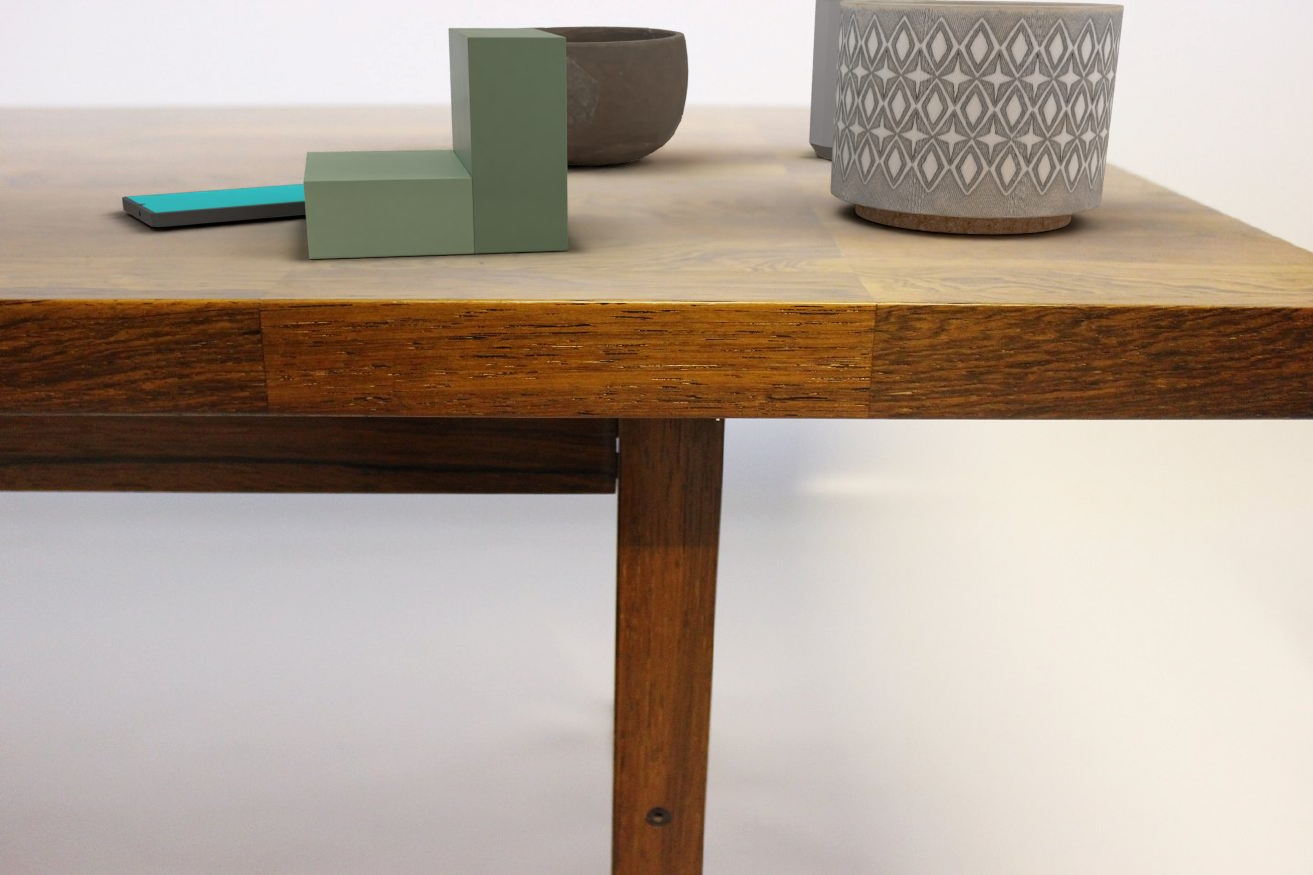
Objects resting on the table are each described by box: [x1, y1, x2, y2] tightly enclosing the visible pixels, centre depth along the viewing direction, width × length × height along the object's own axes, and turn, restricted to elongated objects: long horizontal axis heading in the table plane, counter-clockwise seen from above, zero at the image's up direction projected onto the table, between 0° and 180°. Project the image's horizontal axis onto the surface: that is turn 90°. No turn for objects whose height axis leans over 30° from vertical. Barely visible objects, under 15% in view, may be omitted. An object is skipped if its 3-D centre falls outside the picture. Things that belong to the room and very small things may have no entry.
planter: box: [829, 0, 1125, 235], centre depth 82 cm, size 16×16×13 cm
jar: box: [808, 0, 846, 161], centre depth 109 cm, size 10×10×18 cm
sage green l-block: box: [302, 27, 569, 260], centre depth 75 cm, size 14×12×11 cm
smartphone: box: [121, 183, 306, 228], centre depth 83 cm, size 7×1×15 cm
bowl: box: [532, 25, 689, 167], centre depth 106 cm, size 17×18×10 cm
